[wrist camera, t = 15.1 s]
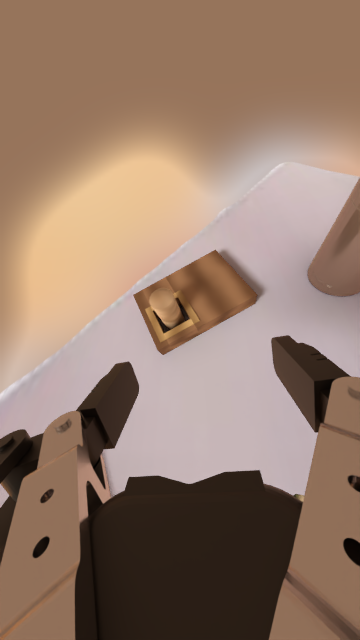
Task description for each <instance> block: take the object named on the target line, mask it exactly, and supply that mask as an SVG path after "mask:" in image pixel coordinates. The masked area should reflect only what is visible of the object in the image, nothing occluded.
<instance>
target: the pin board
mask: <svg viewBox="0 0 360 640" xmlns="http://www.w3.org/2000/svg"><path fill="white" fill-rule="evenodd" d="M159 288H168V289H170V290H171V291H172V293H173V295H174V297H175V299H176V301H177V304H178V306H182V307H183V309H184V311H185V312H186V314H187V316H188V317H189V320H187V321H186V322H184V323H182V324H180V325H178V326H177V327H175V328H173V329H171V330H169V331H168V332H166V333H165V331H164V329H163V327H162V325H161V323H160V321H159V319H158V318H159V316H158V315H157V313H156V312H155V310H154V309H153V308H152V306H151V305H150V302H149V299H150V296H151V294H152V293H153V292H154V291H155V290H157V289H159ZM134 298H135V300H136V302H137V304H138V307H139V309H140V311H141V313H142V316H143V318H144V320H145V323H146V325H147V327H148V329H149V332H150V334H151V336H152V338H153V341H154V343H155V345H156V347H157V350H158V351H159V352H160V353H161V354H163V355H164V354H166V353H168V352H169V351H171V350H173V349H175V348H176V347H178V346H180V345H182V344H184V343H185V342H187V341H189V340H191V339H193V338H194V337H196V336H198V335H200V334H202V333H203V332H205V331H207V330H209V329H210V328H212V327H214V326H216V325H218V324H219V323H221V322H223V321H225V320H227V319H228V318H230V317H232V316H234V315H236V314H237V313H239V312H241V311H243V310H244V309H246V308H248V307H250V306H252V305H253V304H255V302H256V298H257V294H256V293H255V292H254V291H253V290H252V289H251V288H250V286H249V285H248V284H247V283H246V282H245V281H244V280H243V279H242V278H241V277H240V276H239V275H238V274H237V272H236V271H235V270H234V269H233V268H232V267H231V266H230V265H229V264H228V263H227V262H226V261H225V260H224V259H223V257H222V256H221V255H220V254H219V253H218V252H217V251H216V250H214V251H212V252H211V253H209V254H207V255H205V256H203V257H201V258H200V259H198V260H196V261H194V262H192V263H191V264H189V265H187V266H185V267H183V268H181V269H180V270H178V271H176V272H174V273H172V274H171V275H169V276H167V277H165V278H163V279H161V280H160V281H158V282H156V283H154V284H152V285H151V286H149V287H147V288H145V289H143V290H141V291H140V292H138V293H136V294H134Z"/></svg>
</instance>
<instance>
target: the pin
mask: <svg viewBox="0 0 360 640" xmlns="http://www.w3.org/2000/svg"><path fill="white" fill-rule="evenodd" d="M149 302H150V305H151V306H152V308H153V309H154V310H155V312H156V313H157V315H158V316H159V317H160V319H161V320H162V322H163V323H164V324H165V326H166V327H167V328H168V329H169V330H171V329H173V328H175V327H177V326H178V325H180V324H182V323H184V322H185V319H184V317H183V314H182V312H181V310H180V308H179V306H178V304H177V301H176V299H175V297H174V295H173V293H172V291H171V290H170V289H168V288H159V289H157V290H155V291H154V292H153V293H152V294H151V296H150V299H149Z"/></svg>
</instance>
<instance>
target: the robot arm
mask: <svg viewBox="0 0 360 640" xmlns="http://www.w3.org/2000/svg"><path fill="white" fill-rule="evenodd" d="M308 278H309V281H310V282H311V284H312V285H313V286H314V287H315V288H317V289H318V290H320V291H322V292H324V293H326V294H330V295H334V296H350V295H354V294H357V293H359V292H360V178H359V180H358V182H357V184H356V185H355V187H354V189H353V191H352V193H351V194H350V196H349V198H348V200H347V201H346V203H345V205H344V207H343V208H342V210H341V212H340V214H339V215H338V217H337V219H336V221H335V223H334V224H333V226H332V228H331V230H330V231H329V233H328V235H327V237H326V238H325V240H324V242H323V244H322V245H321V247H320V249H319V251H318V252H317V254H316V256H315V258H314V259H313V261H312V263H311V265H310V266H309V269H308ZM271 343H272V353H273V363H274V368H275V371H276V374H277V376H278V377H279V379H280V380H281V382H282V383H283V385H284V386H285V388H286V389H287V391H288V392H289V394H290V395H291V397H292V398H293V400H294V402H295V403H296V405H297V406H298V408H299V409H300V411H301V412H302V414H303V415H304V417H305V418H306V420H307V421H308V423H309V424H310V426H311V427H312V429H313V430H314V432H318V436H317V441H316V446H315V450H314V455H313V459H312V464H311V469H310V473H309V478H308V482H307V487H306V491H305V496H304V501H303V502H302V501H300V500H299V499H297V498H296V497H294V496H293V495H291V494H289V493H287V492H285V491H283V490H281V489H279V488H276V487H273V486H271V485H267V484H263V480H262V477H261V473H260V470H255V471H236V472H223V473H221V474H218V475H215V476H212V477H210V478H207V479H204V480H201V481H199V482H196V483H193V484H186V483H182V482H179V481H175V480H172V479H168V478H165V477H161V476H143V477H129V478H128V482H127V485H126V488H125V491H123V492H121V493H119V494H117V495H115V496H113V497H112V498H111V495H110V490H109V485H108V480H107V475H106V470H105V464H104V459H103V457H102V455H101V454H102V452H103V449H112V448H115V446H116V444H117V441H118V439H119V437H120V434H121V432H122V430H123V428H124V425H125V423H126V421H127V419H128V416H129V414H130V412H131V409H132V407H133V405H134V403H135V400H136V398H137V396H138V393H139V384H138V381H137V379H136V376H135V373H134V370H133V368H132V365H131V363H130V362H124V363H118V364H115V365H114V367H113V368H112V369H111V371H110V372H109V373H108V374H107V375H106V376H105V377H103V378H102V379H101V380H100V381H99V382H98V384H97V385H96V387H94V389H93V390H92V391H91V393H90V394H89V395H88V396H87V397H86V399H85V400H84V401H83V402H82V404H81V405H80V406H79V407H78V409H77V410H76V411H71V412H68V413H66V414H64V415H62V416H60V417H59V418H57V419H56V420H54V421H53V422H52V423H51V424H50V425H49V426H48V427H47V429H46V430H45V432H44V433H42V434H39V435H37V436H34V437H31V438H30V436H29V435H28V433H27V432H26V430H23V429H22V430H17V431H14V432H12V433H10V434H8V435H6V436H5V437H3V438H1V439H0V484H1V485H2V486H3V488H4V489H5V490H6V491H7V493H8V494H9V495H10V496H9V497H8V499H7V500H6V501H5V503H4V504H3V505H2V507H1V508H0V640H360V378H358V377H351V376H349V375H348V374H347V373H346V372H344V371H343V370H342V369H340V368H339V367H338V366H337V365H335V364H334V363H333V362H332V361H330V360H329V359H327V358H326V357H325V356H324V355H323V354H321V353H320V352H319V351H318V350H316V349H315V348H314V347H312V346H309V345H307V344H304V343H297V342H296V341H294V340H293V339H292V338H291V337H290V336H288V335H286V336H280V337H275V338H272V340H271Z"/></svg>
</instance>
